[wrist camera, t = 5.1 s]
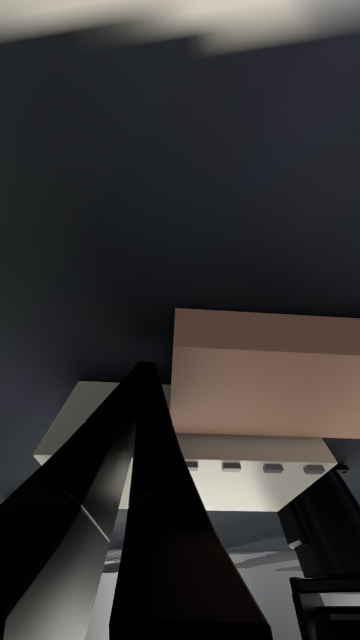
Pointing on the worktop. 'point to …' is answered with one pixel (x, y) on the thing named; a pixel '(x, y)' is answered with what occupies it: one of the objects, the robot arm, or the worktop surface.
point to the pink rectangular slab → (265, 374)
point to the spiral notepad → (213, 458)
